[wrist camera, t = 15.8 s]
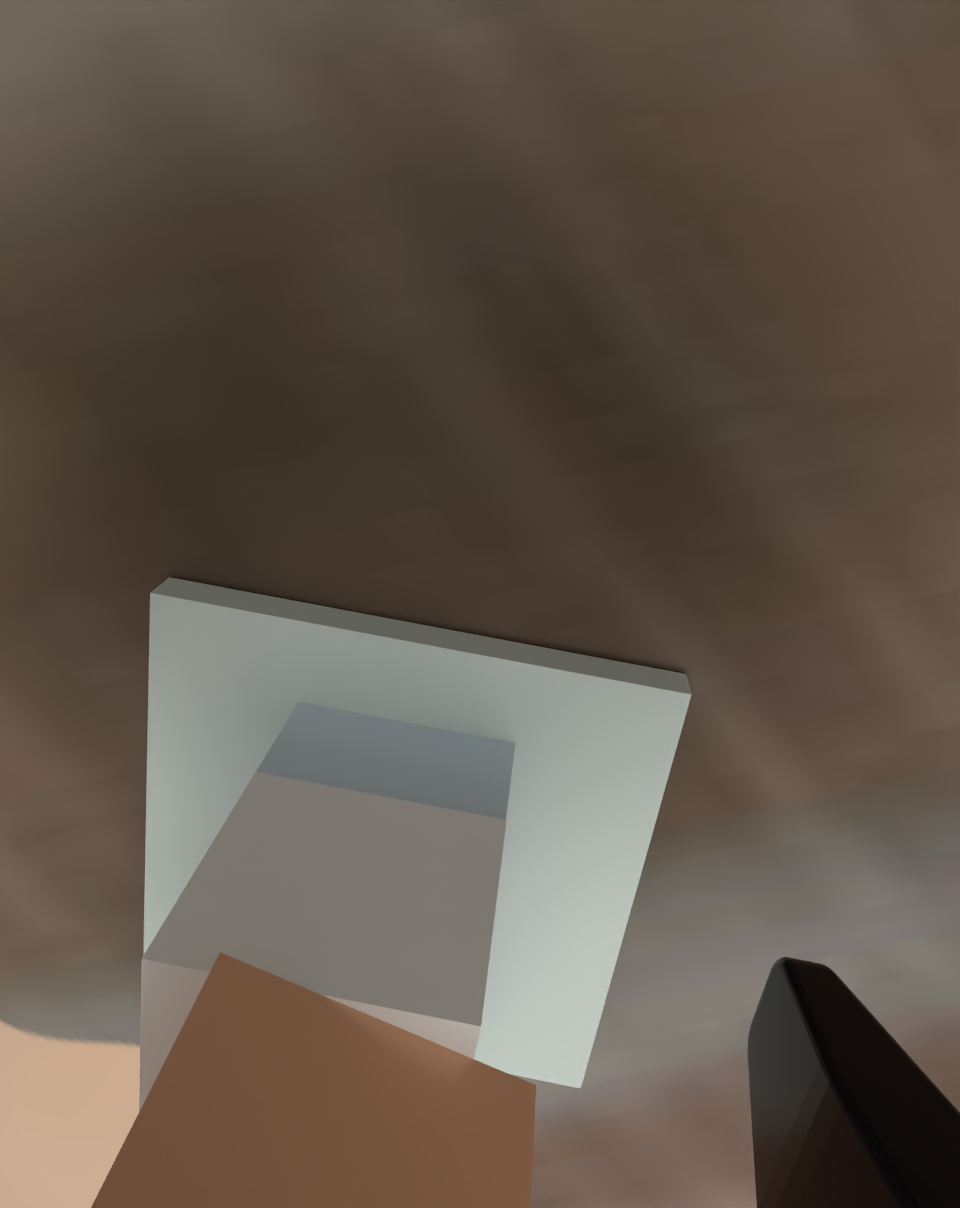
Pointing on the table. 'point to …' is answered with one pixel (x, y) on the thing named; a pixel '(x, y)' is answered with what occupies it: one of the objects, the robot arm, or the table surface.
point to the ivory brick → (335, 911)
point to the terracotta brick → (318, 1112)
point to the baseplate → (450, 685)
